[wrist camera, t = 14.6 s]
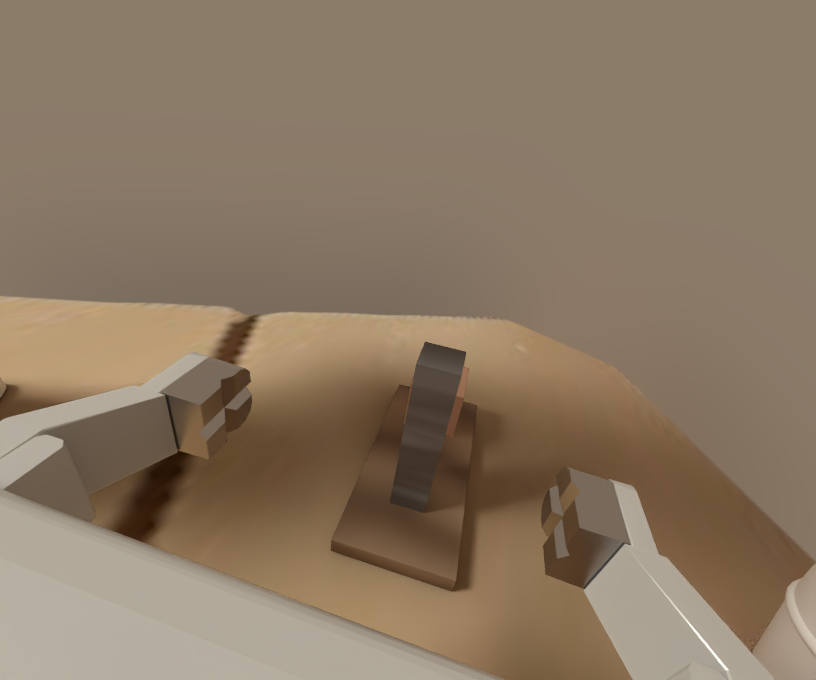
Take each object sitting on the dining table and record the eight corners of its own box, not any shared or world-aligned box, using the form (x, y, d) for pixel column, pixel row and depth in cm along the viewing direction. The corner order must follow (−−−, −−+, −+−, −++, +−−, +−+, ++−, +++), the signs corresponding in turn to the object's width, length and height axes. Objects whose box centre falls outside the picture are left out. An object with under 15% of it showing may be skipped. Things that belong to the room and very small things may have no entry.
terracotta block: (452, 437, 33) (464, 397, 30) (403, 423, 33) (411, 383, 31) (458, 405, 36) (469, 368, 34) (414, 393, 37) (421, 356, 35)
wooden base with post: (451, 591, 23) (514, 439, 16) (330, 550, 24) (341, 391, 17) (474, 414, 37) (511, 295, 31) (397, 393, 38) (418, 273, 32)
